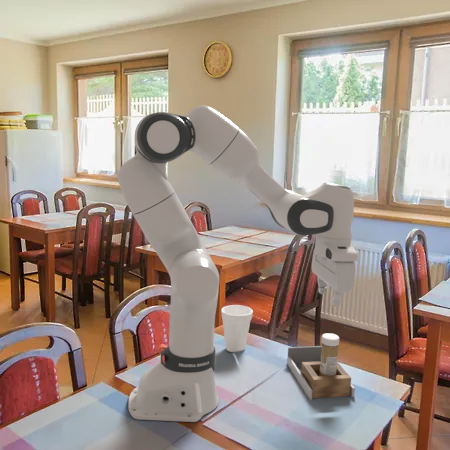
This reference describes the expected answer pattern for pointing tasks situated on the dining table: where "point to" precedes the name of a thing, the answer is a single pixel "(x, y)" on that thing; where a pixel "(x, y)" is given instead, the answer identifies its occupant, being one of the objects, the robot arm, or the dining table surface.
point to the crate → (326, 381)
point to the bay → (306, 355)
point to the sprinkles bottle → (329, 354)
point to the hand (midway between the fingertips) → (328, 299)
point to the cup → (236, 326)
